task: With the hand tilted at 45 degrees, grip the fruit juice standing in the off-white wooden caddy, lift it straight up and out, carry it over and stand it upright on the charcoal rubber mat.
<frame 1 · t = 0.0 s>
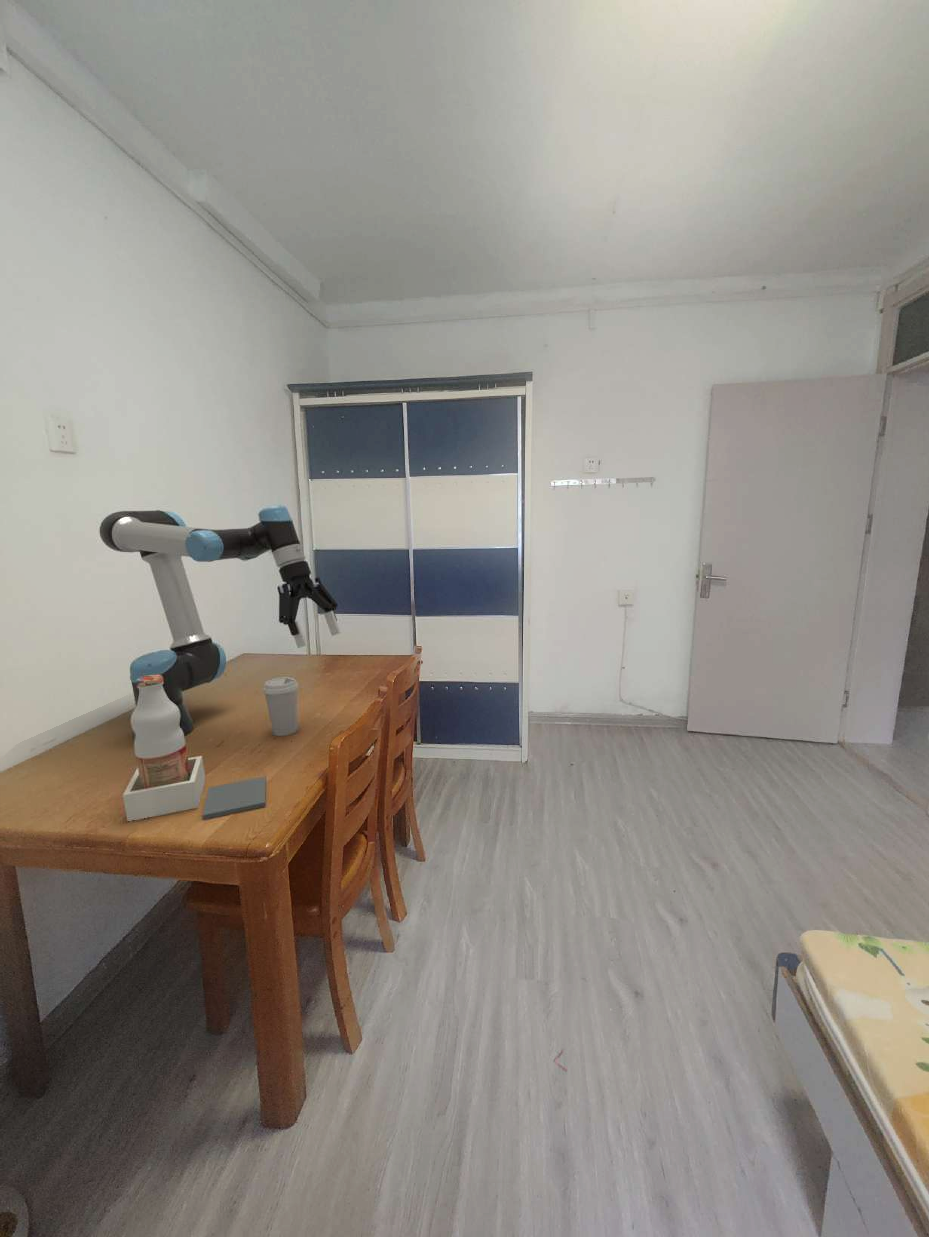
hand: (320, 640, 136), 28 cm above the table, tool tilted 20°, fingers open, 13 cm apart
caddy: (169, 799, 113), on the table
mat: (236, 798, 112), on the table
fruit juice: (169, 800, 113), resting in caddy
coffee cup: (285, 732, 147), on the table
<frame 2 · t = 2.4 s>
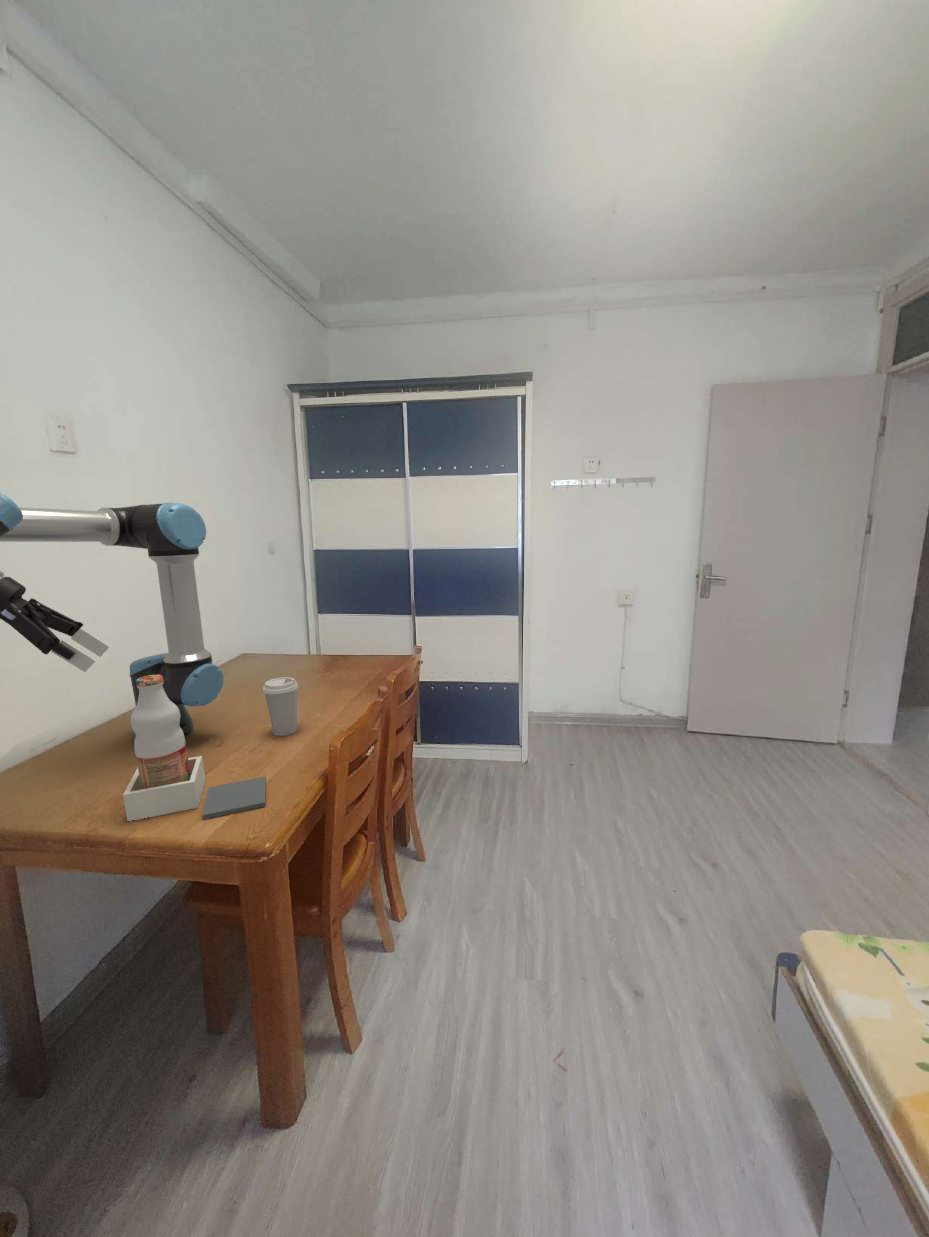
hand: (98, 658, 104), 33 cm above the table, tool tilted 45°, fingers open, 13 cm apart
nothing on the table moved.
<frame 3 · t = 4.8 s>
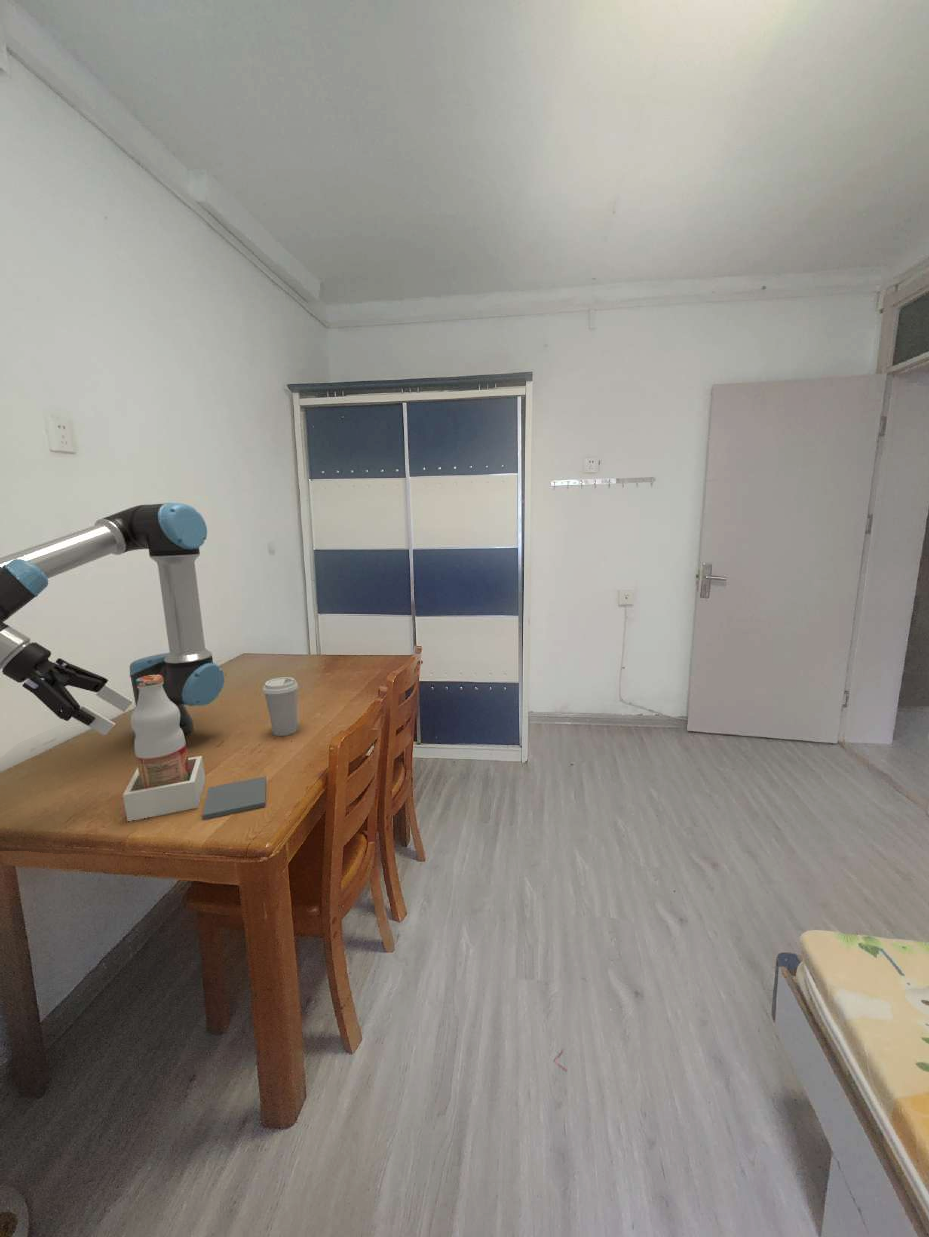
hand: (120, 717, 106), 21 cm above the table, tool tilted 45°, fingers open, 13 cm apart
nothing on the table moved.
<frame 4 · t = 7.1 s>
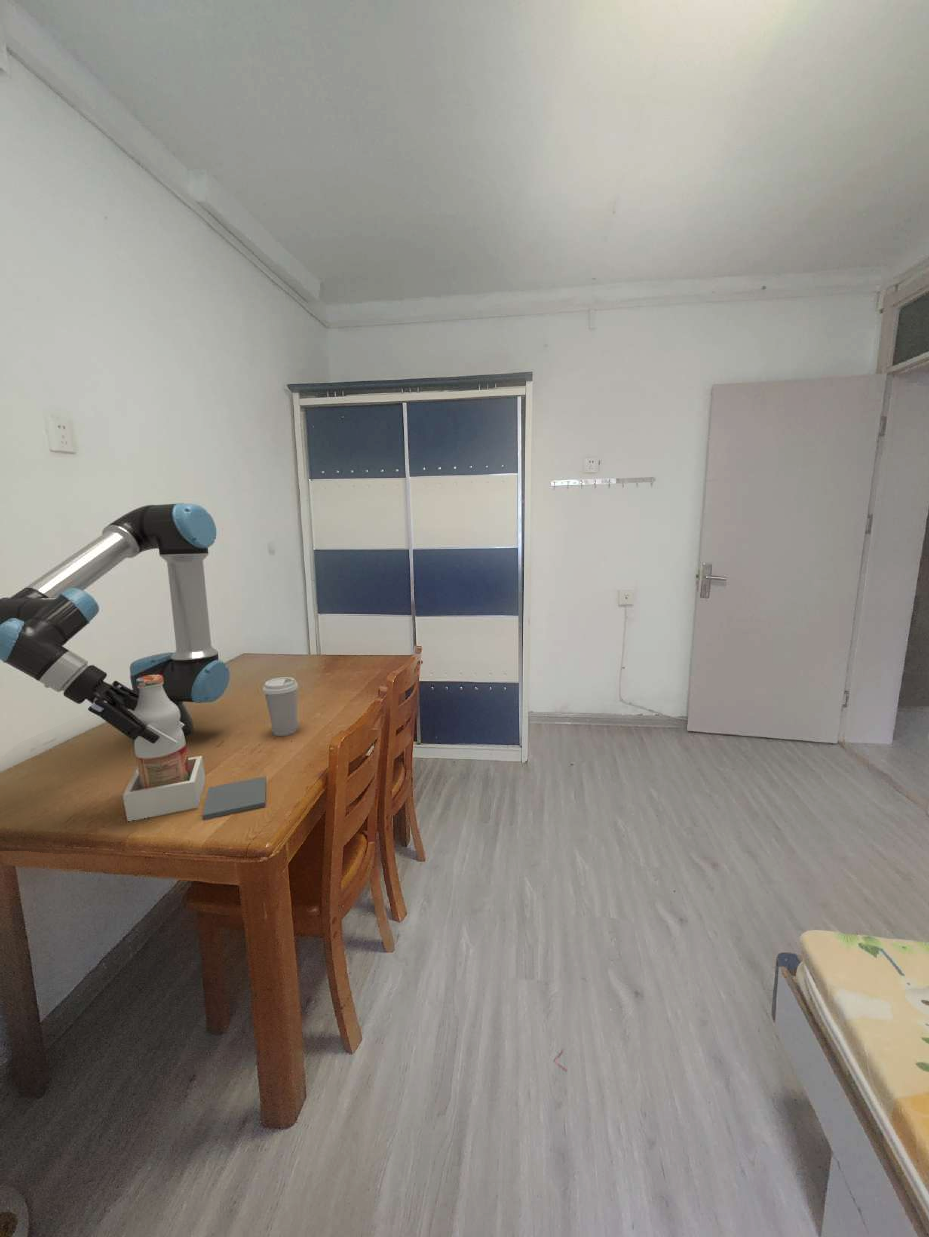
hand: (176, 738, 111), 14 cm above the table, tool tilted 45°, fingers closed on fruit juice, 9 cm apart
fruit juice: (169, 800, 113), resting in caddy, touching gripper
everything else where it was.
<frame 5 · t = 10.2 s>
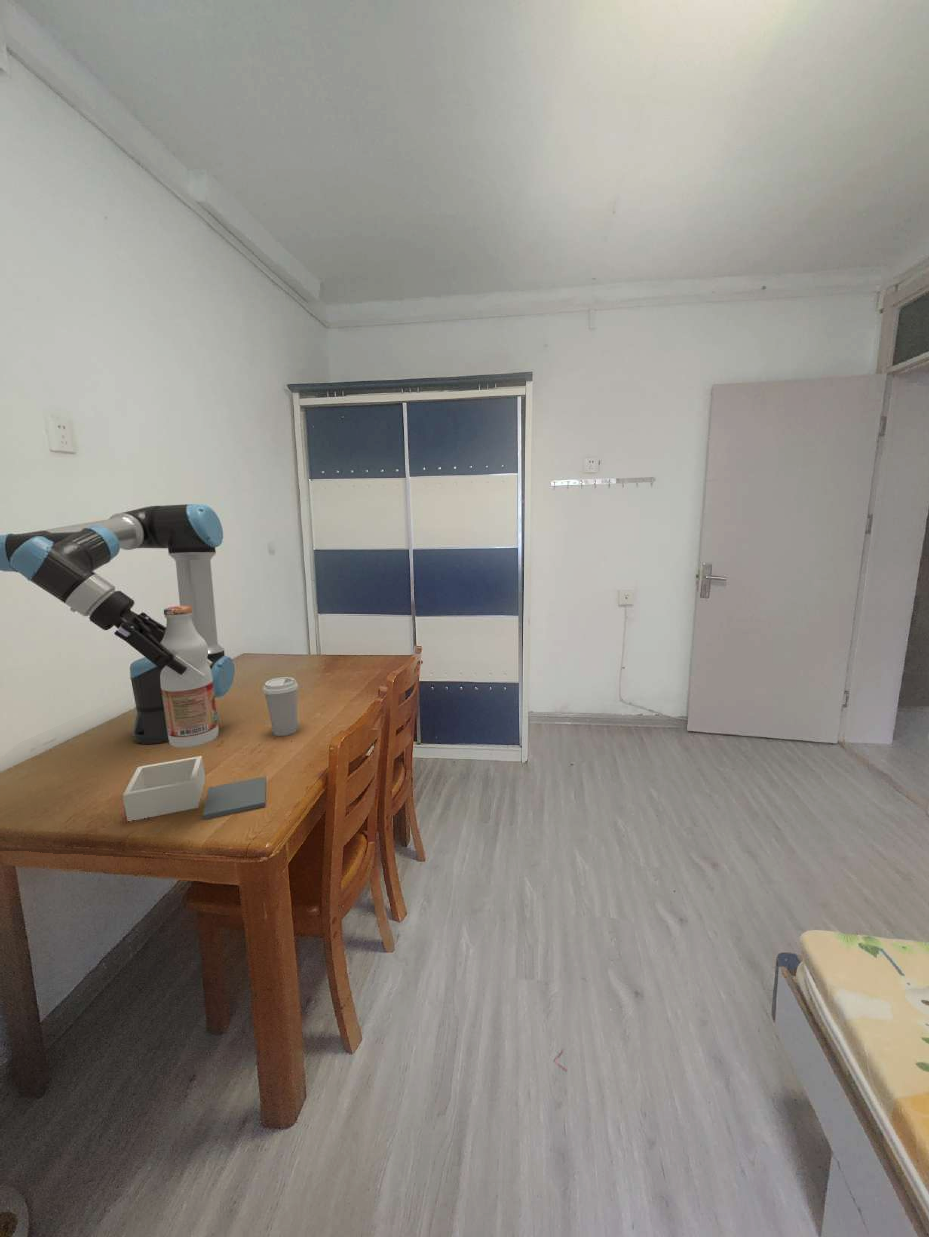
hand: (204, 673, 106), 29 cm above the table, tool tilted 45°, fingers closed on fruit juice, 9 cm apart
fruit juice: (194, 739, 108), point 15 cm above the table, touching gripper
everything else where it was.
when the fingers open (16 cm above the table, at t = 13.4 s): fruit juice drops 1 cm, resting on mat.
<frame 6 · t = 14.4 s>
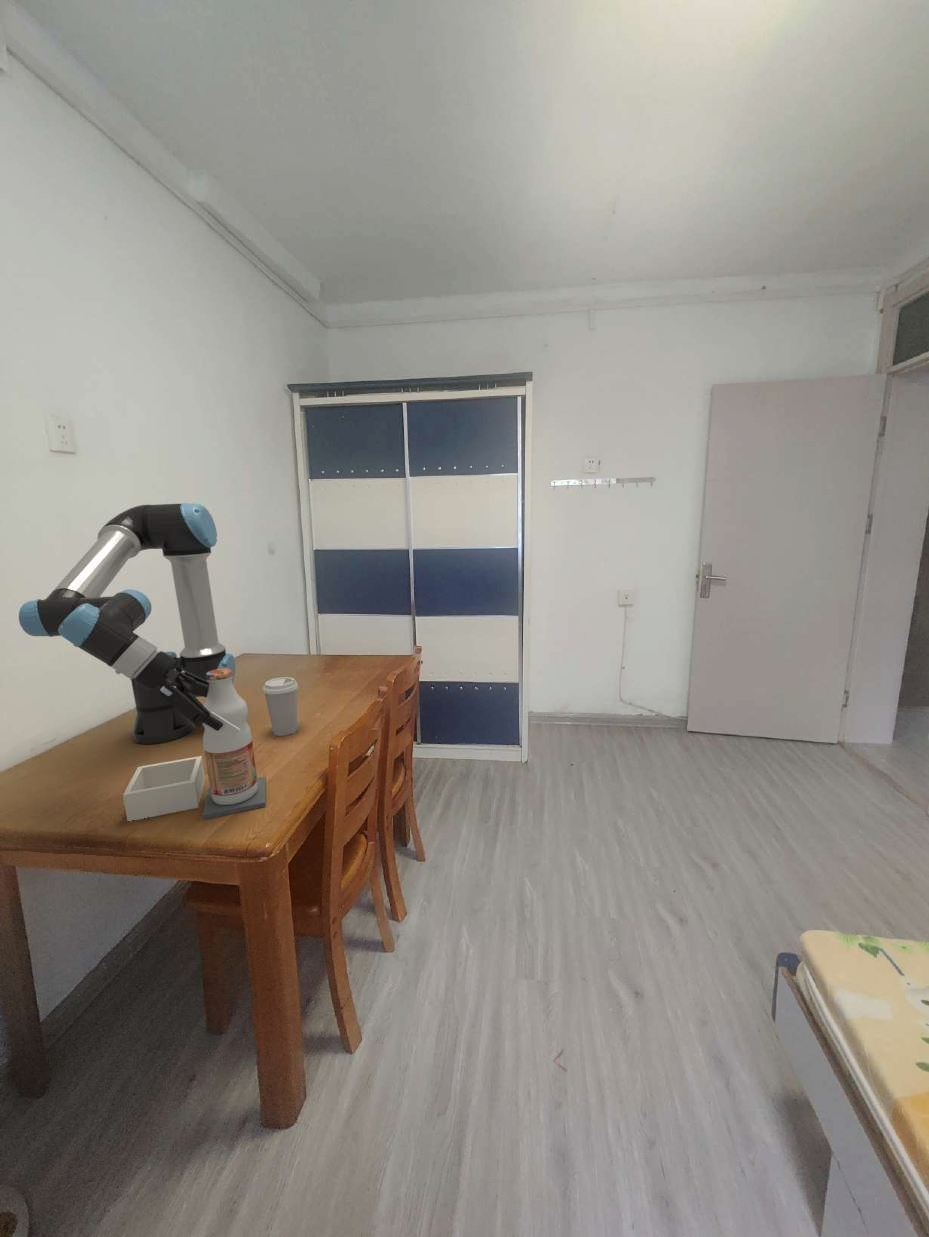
hand: (237, 722, 110), 17 cm above the table, tool tilted 45°, fingers open, 13 cm apart
fruit juice: (235, 795, 112), point 1 cm above the table, touching mat
everything else where it was.
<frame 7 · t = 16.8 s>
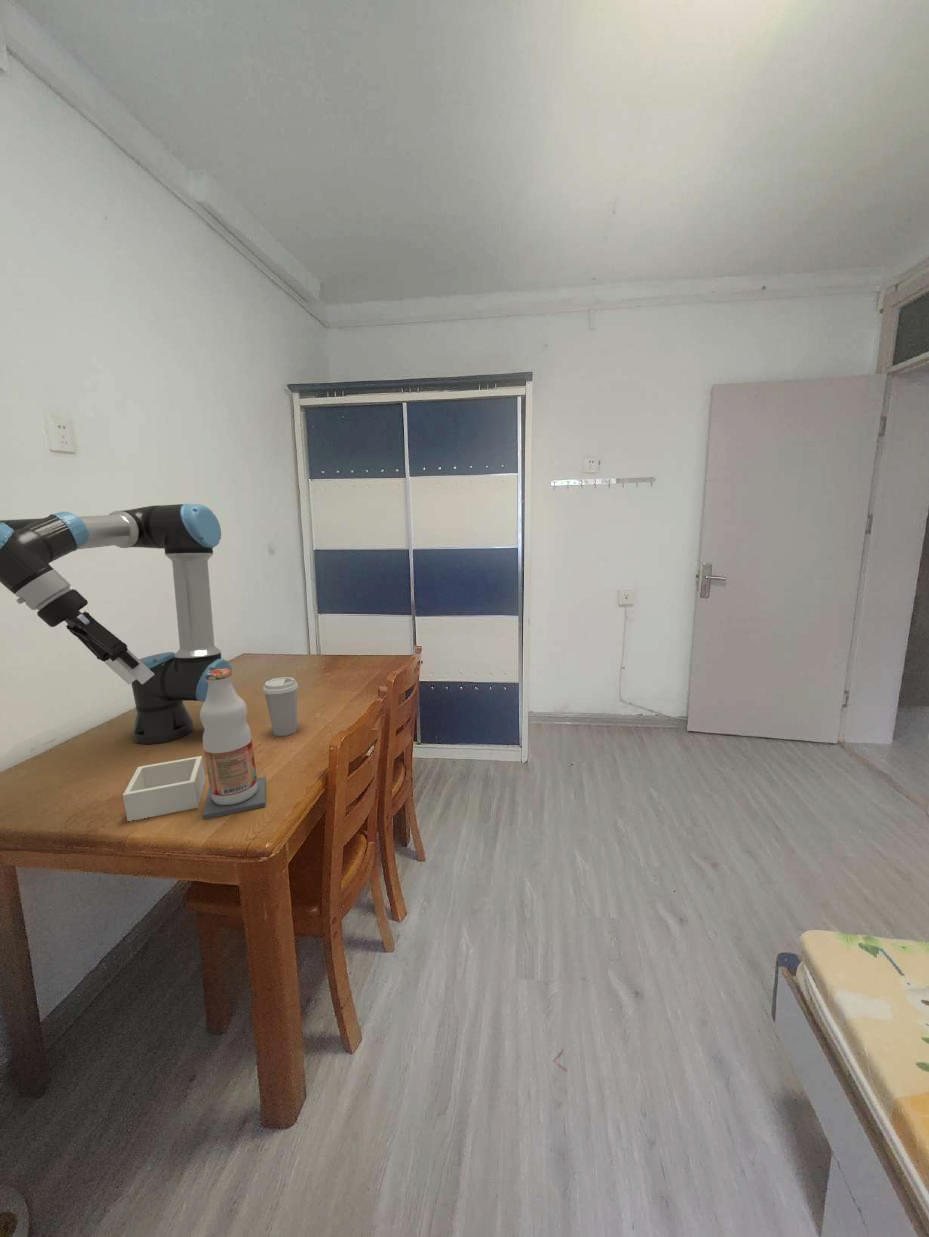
hand: (141, 679, 105), 28 cm above the table, tool tilted 35°, fingers open, 13 cm apart
nothing on the table moved.
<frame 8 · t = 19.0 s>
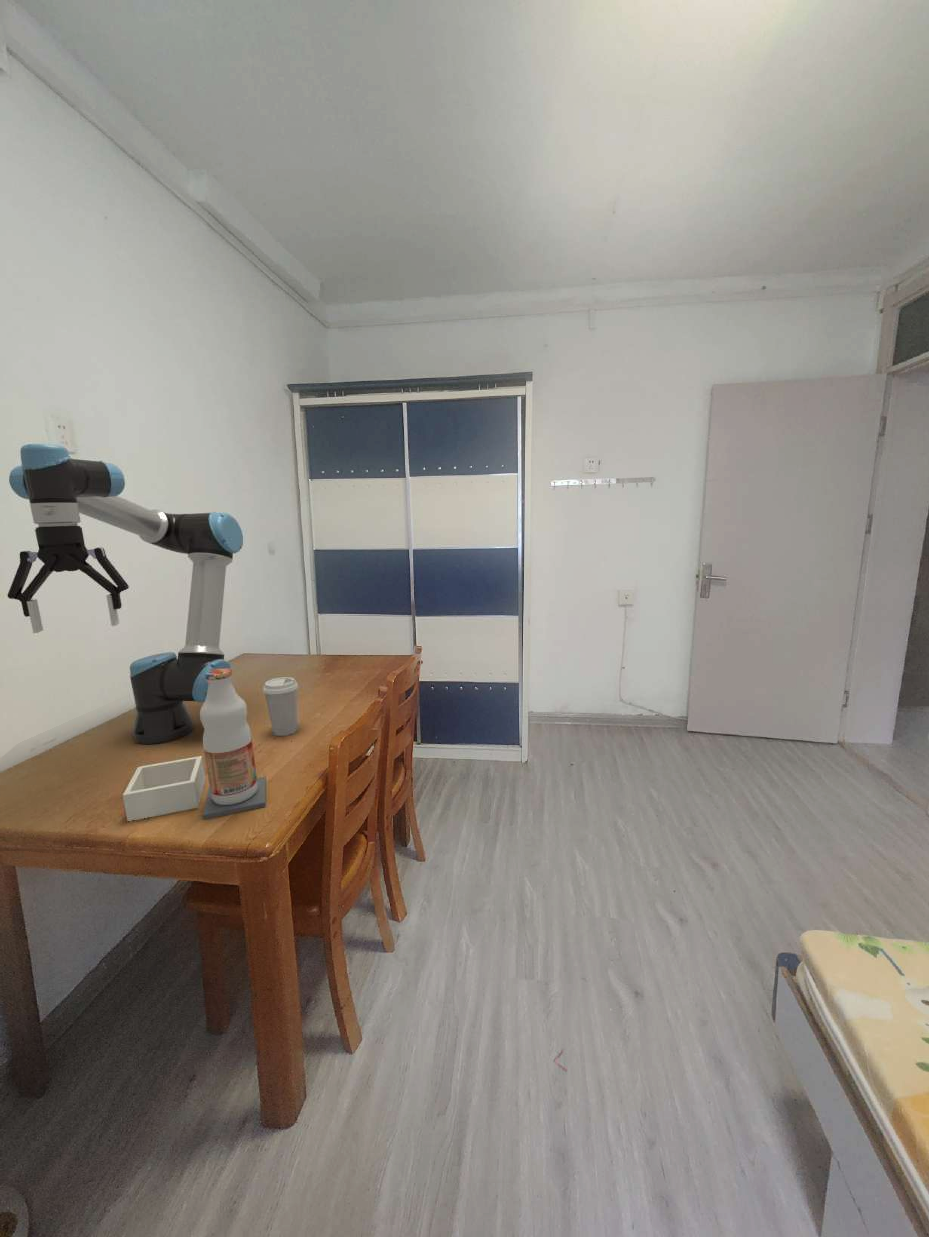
hand: (77, 628, 108), 39 cm above the table, tool pointing down, fingers open, 13 cm apart
nothing on the table moved.
at the end: fruit juice inside the target area on the mat (0.1 cm from its centre), point 0.8 cm above the mat's base; fruit juice tilted 0°; the gripper is holding nothing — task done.
